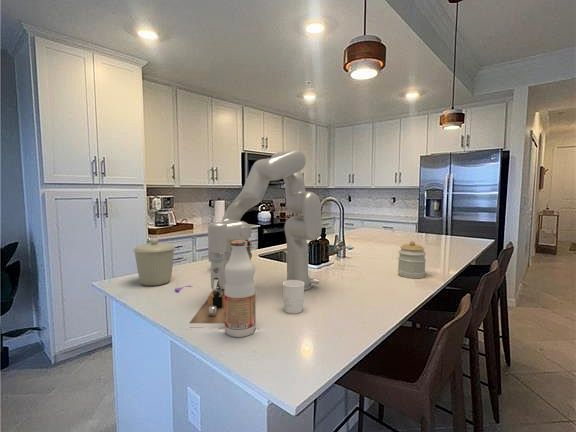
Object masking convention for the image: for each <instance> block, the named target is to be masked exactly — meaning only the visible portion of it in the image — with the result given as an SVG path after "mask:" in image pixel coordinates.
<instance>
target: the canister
mask: <svg viewBox="0 0 576 432" xmlns="http://www.w3.org/2000/svg"><path fill="white" fill-rule="evenodd" d="M149 240H150V241H149V243H144V244H139V245H138V246H136V247H135V248H133V249H132V251H133V252H134V257H135V263H136V269H137V274H138V279H139V282H140V284H142V285H143V286H148V287H153V286H161V285H165V284H167V283H169V281H171V279H172V273H173V267H174V266H173V265H174V256H175V255H174V253H175V249H176V245H173V244H172V243H169V242H159V239H158V238H157V237H153V238H151V239H149Z"/></svg>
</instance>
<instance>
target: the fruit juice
mask: <svg viewBox="0 0 576 432" xmlns="http://www.w3.org/2000/svg"><path fill="white" fill-rule="evenodd" d="M247 245H248V243H247V241H245V240H236V241H232V242H231V247H232V252H231V255H230V258H229V261H228V263H227V264H226V266H225V271H224V272H225V277H226V283H225V287H224V300H225V323H224V332H225V333H226V335H227V336H230V337H233V338H243V337H248V336H251V335H252V334H253V333H254V332H255V331H256V327H257V324H256V323H257V319H256V315H257V313H256V284H255V281H254V277H255V272H256V270H255V265H254V263H253V262H252V259H251V260H250V258H249V255H248V252H247Z"/></svg>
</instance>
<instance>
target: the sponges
mask: <svg viewBox="0 0 576 432" xmlns="http://www.w3.org/2000/svg"><path fill="white" fill-rule="evenodd" d="M184 288H193V285H190V284H189V285H186V286H185V285H184V286H181V287H176V288H174V292H176V293H180V292H181V291H183V289H184Z"/></svg>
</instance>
